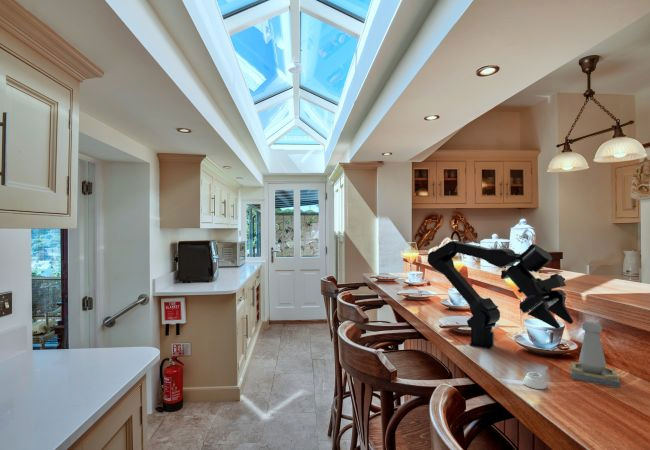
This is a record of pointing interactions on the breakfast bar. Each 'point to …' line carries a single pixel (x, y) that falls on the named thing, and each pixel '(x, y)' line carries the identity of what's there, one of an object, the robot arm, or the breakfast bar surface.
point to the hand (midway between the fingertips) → (565, 325)
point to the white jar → (534, 381)
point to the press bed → (595, 376)
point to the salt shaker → (592, 349)
